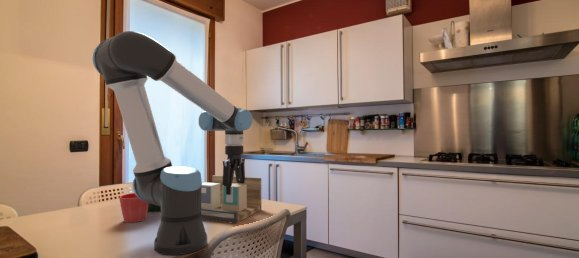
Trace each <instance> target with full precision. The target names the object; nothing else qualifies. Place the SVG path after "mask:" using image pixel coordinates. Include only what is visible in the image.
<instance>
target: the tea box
mask: <svg viewBox="0 0 579 258" xmlns="http://www.w3.org/2000/svg"><path fill="white" fill-rule="evenodd" d="M232 186H233V203H228V202H226V186H224V185H223V186H222V210H228V211H237V212H240V211H242V210H244V209H246V208H247V184H234V183H232Z"/></svg>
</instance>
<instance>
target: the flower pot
mask: <svg viewBox="0 0 579 258" xmlns="http://www.w3.org/2000/svg"><path fill="white" fill-rule="evenodd" d="M118 200H119V203H120V208H121V209H120V210H121V212H122V213H121V214H122V218H123V219H122V220H123V222H125V223H138V222H142V221H145V220H146V219H147V215H148V212H149V211H148V205H149V203H146V202H144V201H142V200H141V199H139V198H138V197H137V196H136V194H135V193H134V192H133V193H126V194H123V195H120V196H119V198H118Z"/></svg>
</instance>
